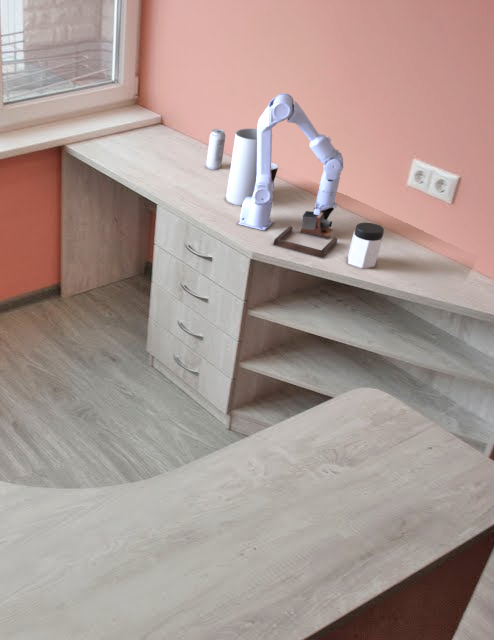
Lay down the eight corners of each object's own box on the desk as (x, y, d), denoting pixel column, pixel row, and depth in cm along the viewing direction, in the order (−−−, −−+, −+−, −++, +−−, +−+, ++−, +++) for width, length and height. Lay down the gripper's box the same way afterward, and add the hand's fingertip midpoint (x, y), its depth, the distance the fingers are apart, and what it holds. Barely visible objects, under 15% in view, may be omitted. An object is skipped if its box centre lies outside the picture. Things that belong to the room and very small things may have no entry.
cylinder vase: (224, 205, 293) (234, 138, 279) (226, 192, 303) (236, 127, 289) (259, 208, 290) (272, 141, 276) (260, 195, 300) (272, 130, 286)
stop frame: (273, 244, 265) (274, 239, 264) (288, 231, 274) (289, 225, 272) (322, 258, 256) (323, 252, 255) (336, 243, 265) (338, 238, 264)
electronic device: (328, 239, 268) (331, 221, 262) (299, 233, 272) (301, 215, 267) (332, 231, 270) (335, 213, 265) (304, 225, 275) (306, 207, 269)
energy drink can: (213, 163, 328) (218, 127, 320) (224, 168, 324) (229, 131, 316) (202, 166, 326) (207, 130, 317) (213, 171, 321) (218, 134, 313)
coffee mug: (276, 195, 300) (281, 169, 294) (253, 195, 300) (257, 169, 294) (268, 183, 310) (272, 158, 304) (245, 183, 310) (250, 158, 304)
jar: (355, 269, 249) (365, 234, 243) (341, 258, 256) (349, 223, 249) (381, 266, 251) (391, 231, 244) (365, 255, 258) (375, 220, 251)
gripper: (332, 199, 258) (324, 237, 265) (347, 185, 267) (338, 223, 274) (310, 194, 261) (303, 232, 269) (326, 181, 271) (318, 218, 278)
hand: (319, 227), depth 272 cm, fingers closed, pressing on electronic device
